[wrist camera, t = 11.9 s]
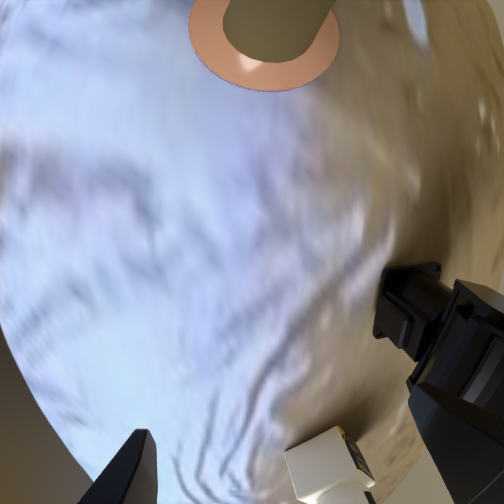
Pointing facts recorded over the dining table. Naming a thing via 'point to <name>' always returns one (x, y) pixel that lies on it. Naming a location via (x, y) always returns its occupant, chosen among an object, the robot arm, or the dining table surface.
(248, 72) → the peach round disc
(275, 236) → the dining table surface
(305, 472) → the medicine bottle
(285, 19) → the cork
